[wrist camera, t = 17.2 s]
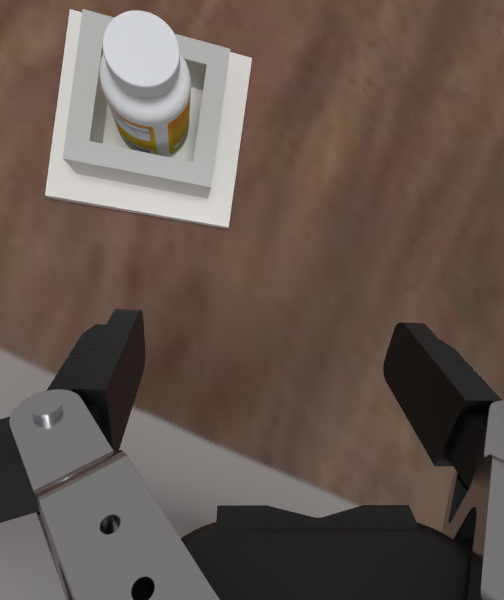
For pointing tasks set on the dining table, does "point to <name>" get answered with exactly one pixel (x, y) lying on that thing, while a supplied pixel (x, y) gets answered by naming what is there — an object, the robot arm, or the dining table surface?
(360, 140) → the dining table surface
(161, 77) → the supplement bottle
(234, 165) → the socket block
